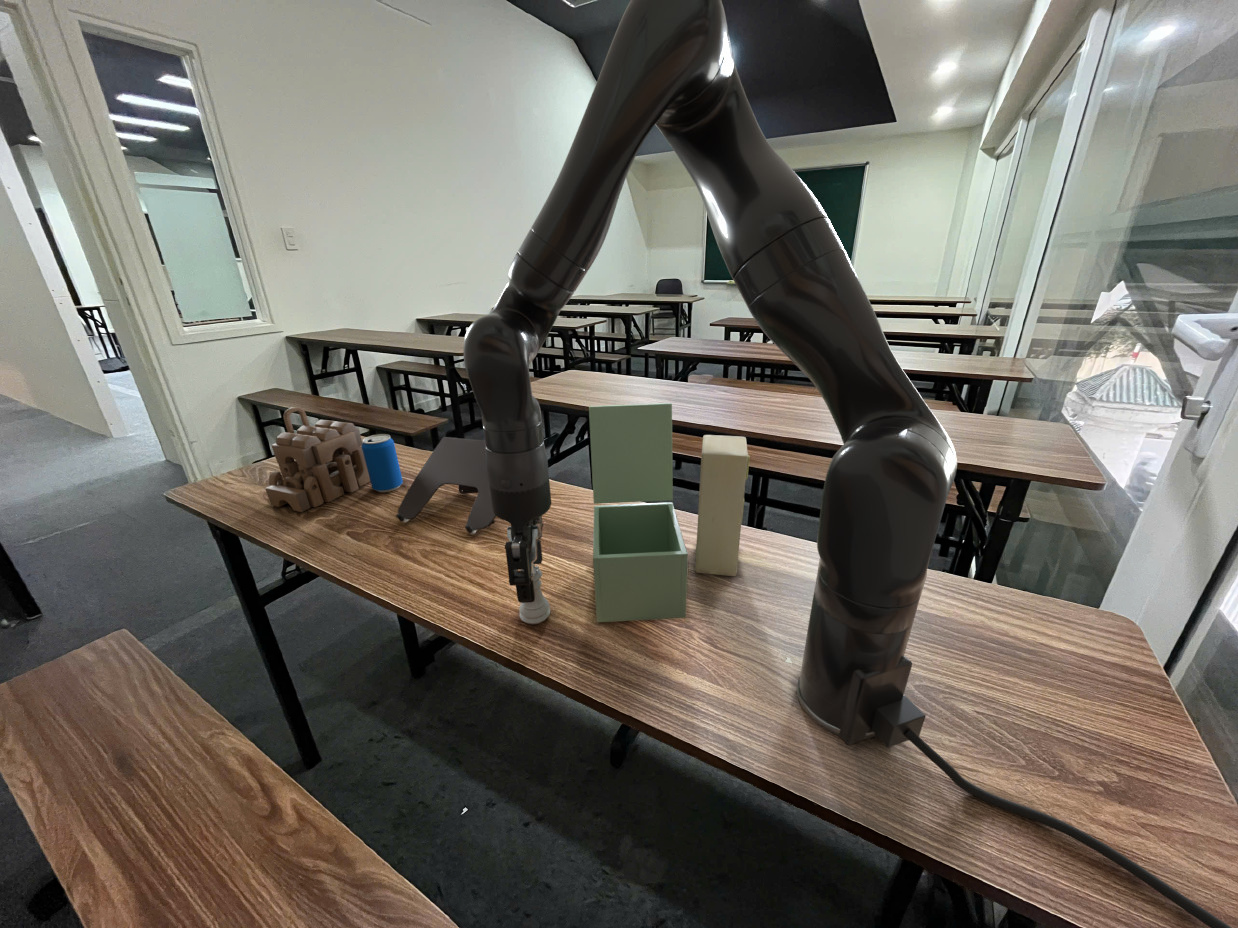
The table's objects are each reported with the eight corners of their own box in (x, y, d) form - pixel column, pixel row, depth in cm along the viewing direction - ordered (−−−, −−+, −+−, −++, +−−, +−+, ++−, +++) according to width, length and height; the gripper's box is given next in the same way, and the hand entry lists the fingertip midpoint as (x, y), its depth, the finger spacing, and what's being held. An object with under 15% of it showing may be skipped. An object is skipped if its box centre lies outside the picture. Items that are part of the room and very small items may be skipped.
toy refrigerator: (741, 578, 76) (752, 455, 67) (694, 573, 77) (700, 453, 69) (740, 550, 83) (750, 436, 74) (697, 546, 84) (702, 434, 76)
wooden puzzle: (308, 514, 99) (280, 429, 91) (261, 503, 104) (231, 422, 97) (391, 472, 118) (373, 398, 110) (347, 465, 123) (328, 394, 115)
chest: (685, 618, 68) (688, 554, 63) (596, 622, 67) (592, 558, 63) (671, 558, 81) (672, 502, 77) (597, 561, 81) (593, 505, 76)
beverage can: (375, 483, 112) (362, 435, 107) (404, 479, 113) (394, 432, 109) (370, 495, 106) (357, 445, 101) (402, 491, 108) (390, 441, 103)
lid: (671, 403, 73) (667, 400, 77) (588, 406, 72) (589, 403, 77) (672, 500, 76) (668, 491, 81) (593, 503, 76) (594, 494, 81)
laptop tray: (404, 539, 100) (381, 514, 93) (456, 457, 114) (439, 430, 107) (501, 556, 93) (483, 530, 86) (543, 466, 107) (531, 438, 100)
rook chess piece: (554, 620, 68) (549, 574, 65) (523, 629, 66) (516, 582, 63) (546, 601, 72) (541, 556, 69) (517, 609, 70) (510, 564, 67)
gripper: (542, 501, 54) (553, 614, 61) (553, 453, 67) (561, 550, 74) (475, 504, 54) (494, 617, 60) (500, 455, 67) (512, 552, 74)
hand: (531, 580), depth 67 cm, fingers open, 8 cm apart
